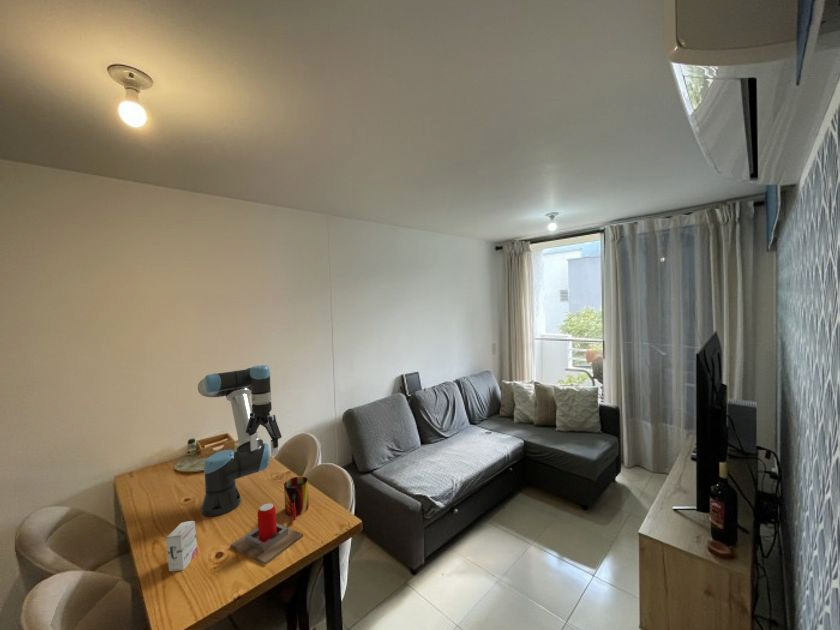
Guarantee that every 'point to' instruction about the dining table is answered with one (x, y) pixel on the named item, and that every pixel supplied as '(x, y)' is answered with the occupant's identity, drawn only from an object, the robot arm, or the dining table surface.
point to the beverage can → (266, 522)
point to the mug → (296, 496)
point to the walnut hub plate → (271, 552)
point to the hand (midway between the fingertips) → (264, 452)
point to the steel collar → (264, 546)
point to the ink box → (181, 546)
